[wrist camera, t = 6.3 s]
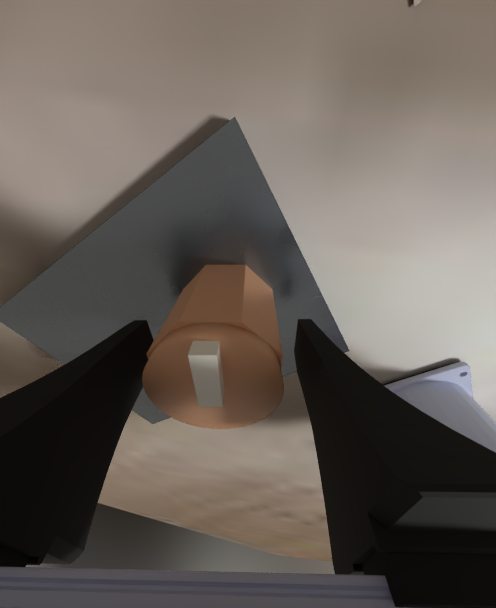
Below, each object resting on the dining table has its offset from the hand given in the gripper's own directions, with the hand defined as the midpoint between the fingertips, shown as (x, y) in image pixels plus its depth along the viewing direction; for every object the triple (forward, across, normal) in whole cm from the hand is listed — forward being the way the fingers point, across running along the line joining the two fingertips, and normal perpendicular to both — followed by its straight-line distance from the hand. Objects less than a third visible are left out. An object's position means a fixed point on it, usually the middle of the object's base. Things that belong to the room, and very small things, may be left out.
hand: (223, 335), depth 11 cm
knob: (+3, 0, 0) cm, 3 cm away
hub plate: (+4, +4, +2) cm, 5 cm away
